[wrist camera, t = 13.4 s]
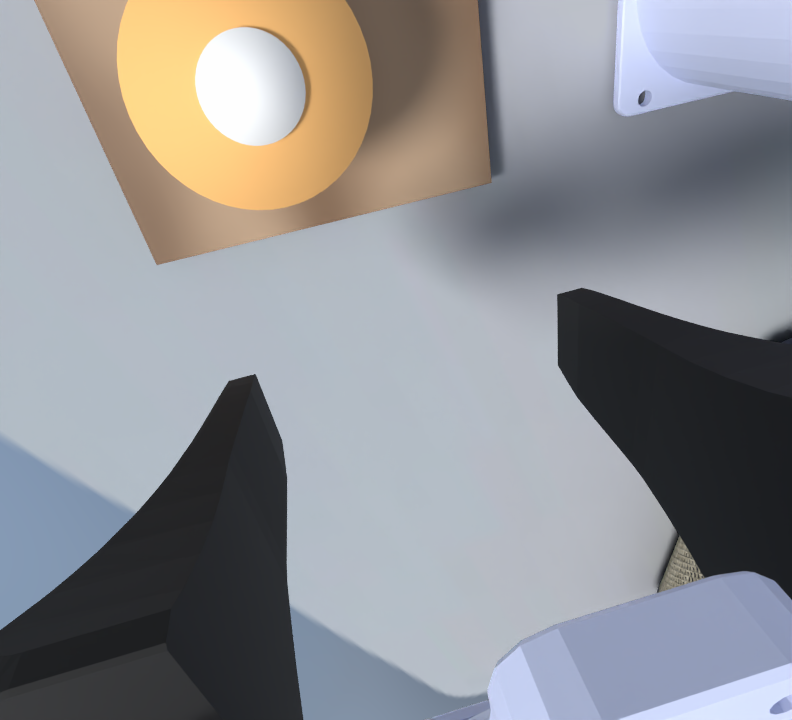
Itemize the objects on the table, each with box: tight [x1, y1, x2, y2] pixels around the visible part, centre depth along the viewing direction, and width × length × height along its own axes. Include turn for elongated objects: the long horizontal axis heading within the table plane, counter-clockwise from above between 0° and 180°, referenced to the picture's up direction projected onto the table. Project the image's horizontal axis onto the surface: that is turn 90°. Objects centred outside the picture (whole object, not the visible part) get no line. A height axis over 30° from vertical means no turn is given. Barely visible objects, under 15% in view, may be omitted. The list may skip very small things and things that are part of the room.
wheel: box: [117, 0, 373, 210], centre depth 14 cm, size 6×6×5 cm
